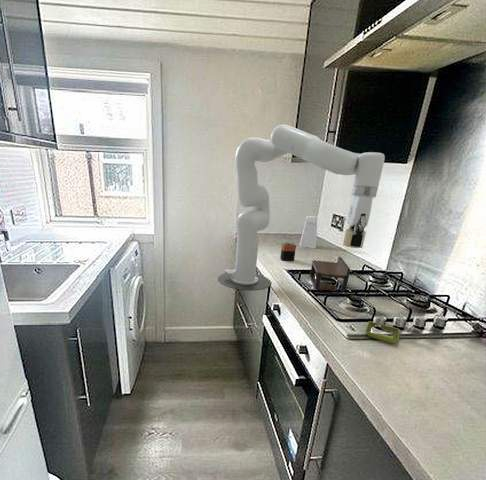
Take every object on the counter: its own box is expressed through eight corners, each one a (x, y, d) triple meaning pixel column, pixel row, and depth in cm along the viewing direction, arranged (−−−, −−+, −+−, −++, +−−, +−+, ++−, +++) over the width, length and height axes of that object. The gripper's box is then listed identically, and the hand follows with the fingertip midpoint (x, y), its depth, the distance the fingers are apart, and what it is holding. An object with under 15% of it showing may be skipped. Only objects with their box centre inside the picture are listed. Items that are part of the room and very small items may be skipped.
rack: (314, 291, 125) (318, 265, 122) (309, 276, 144) (313, 254, 140) (345, 294, 123) (350, 269, 120) (336, 279, 142) (340, 256, 138)
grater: (299, 243, 213) (303, 215, 207) (315, 245, 211) (320, 216, 204) (299, 246, 204) (304, 217, 197) (316, 248, 201) (321, 218, 195)
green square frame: (367, 326, 97) (368, 320, 97) (398, 334, 93) (400, 328, 92) (363, 337, 90) (365, 331, 90) (396, 347, 86) (398, 340, 85)
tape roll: (344, 247, 105) (348, 231, 103) (341, 243, 111) (344, 228, 109) (364, 249, 104) (368, 233, 102) (360, 245, 110) (363, 229, 108)
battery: (279, 258, 171) (282, 241, 168) (291, 259, 172) (293, 241, 169) (282, 260, 167) (284, 243, 164) (294, 261, 168) (296, 243, 165)
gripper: (347, 190, 110) (337, 238, 116) (358, 192, 94) (346, 248, 100) (369, 191, 109) (358, 240, 114) (384, 194, 93) (370, 251, 98)
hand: (353, 243), depth 107 cm, fingers closed on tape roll, 6 cm apart
